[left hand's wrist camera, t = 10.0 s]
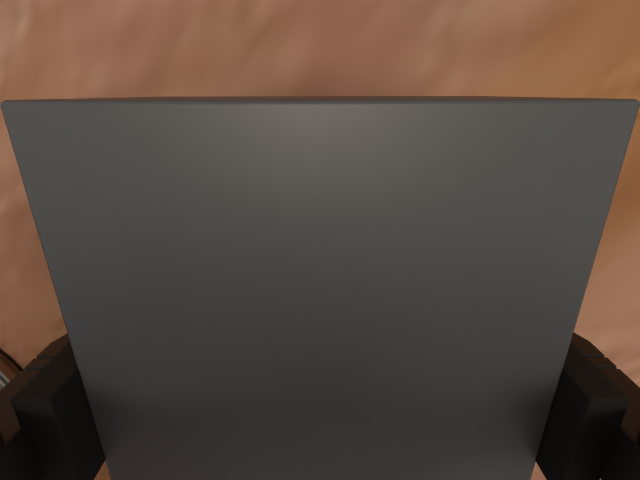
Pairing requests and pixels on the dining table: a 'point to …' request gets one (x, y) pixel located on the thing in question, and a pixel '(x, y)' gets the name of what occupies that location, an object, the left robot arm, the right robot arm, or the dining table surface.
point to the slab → (320, 275)
